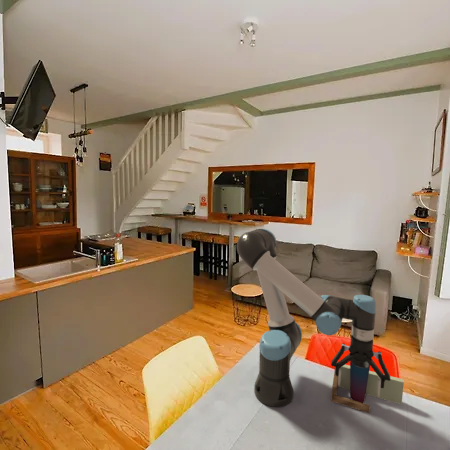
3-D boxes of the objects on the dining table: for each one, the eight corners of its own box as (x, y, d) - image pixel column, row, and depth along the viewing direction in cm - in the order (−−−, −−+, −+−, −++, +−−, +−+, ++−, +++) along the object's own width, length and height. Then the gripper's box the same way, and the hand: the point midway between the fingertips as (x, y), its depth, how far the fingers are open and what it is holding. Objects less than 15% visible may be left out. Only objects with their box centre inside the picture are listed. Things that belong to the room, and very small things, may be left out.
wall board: (333, 384, 116) (334, 364, 115) (334, 382, 118) (335, 362, 117) (401, 404, 106) (403, 382, 105) (400, 401, 108) (403, 379, 106)
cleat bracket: (331, 401, 107) (331, 389, 107) (333, 384, 116) (334, 373, 116) (369, 413, 102) (370, 400, 101) (368, 395, 111) (369, 383, 110)
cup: (369, 406, 105) (372, 369, 103) (350, 403, 106) (352, 366, 104) (364, 393, 111) (366, 358, 110) (345, 391, 113) (348, 356, 111)
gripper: (325, 333, 108) (322, 384, 110) (402, 350, 97) (397, 406, 99) (327, 325, 114) (325, 373, 117) (399, 340, 104) (394, 392, 106)
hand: (358, 388), depth 108 cm, fingers open, 13 cm apart
